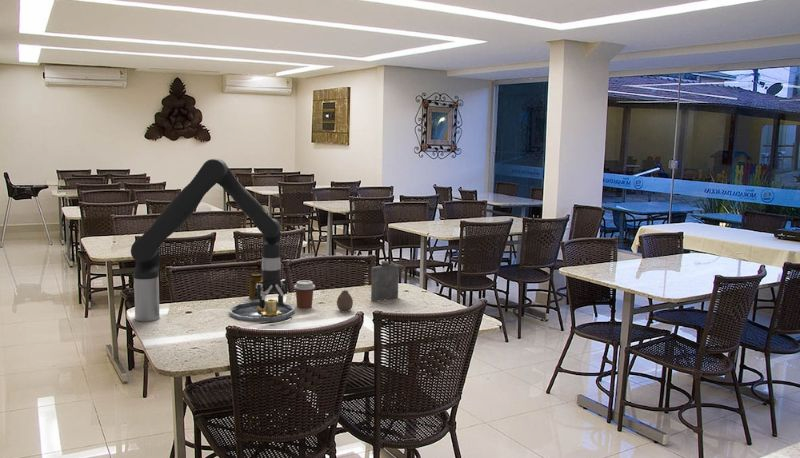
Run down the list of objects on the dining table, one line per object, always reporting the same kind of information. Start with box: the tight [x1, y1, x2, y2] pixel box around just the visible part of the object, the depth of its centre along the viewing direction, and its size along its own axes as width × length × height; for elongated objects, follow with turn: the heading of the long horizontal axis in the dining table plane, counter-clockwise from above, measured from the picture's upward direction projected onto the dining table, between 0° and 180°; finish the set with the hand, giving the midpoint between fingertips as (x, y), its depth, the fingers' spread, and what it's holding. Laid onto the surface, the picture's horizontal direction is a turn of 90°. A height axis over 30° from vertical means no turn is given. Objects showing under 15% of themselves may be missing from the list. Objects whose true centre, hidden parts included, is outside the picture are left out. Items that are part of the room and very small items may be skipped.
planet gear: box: [261, 298, 282, 317], centre depth 268 cm, size 8×8×6 cm
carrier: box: [229, 300, 295, 325], centre depth 273 cm, size 26×26×7 cm
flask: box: [370, 260, 400, 302], centre depth 304 cm, size 4×14×18 cm, turn 124°
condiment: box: [248, 273, 263, 300], centre depth 295 cm, size 7×8×12 cm
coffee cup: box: [293, 279, 316, 309], centre depth 284 cm, size 9×9×12 cm
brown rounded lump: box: [336, 289, 354, 312], centre depth 283 cm, size 7×7×9 cm
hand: (271, 306), depth 268 cm, fingers open, 8 cm apart
